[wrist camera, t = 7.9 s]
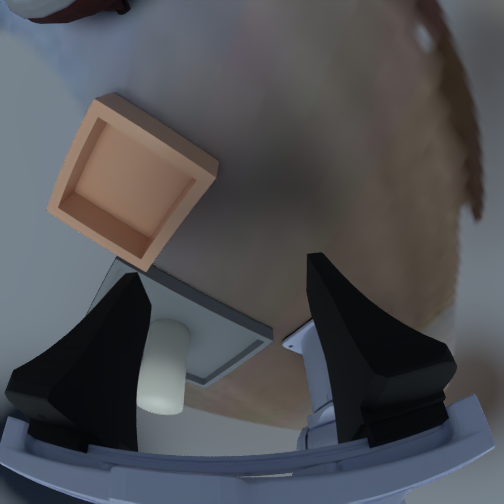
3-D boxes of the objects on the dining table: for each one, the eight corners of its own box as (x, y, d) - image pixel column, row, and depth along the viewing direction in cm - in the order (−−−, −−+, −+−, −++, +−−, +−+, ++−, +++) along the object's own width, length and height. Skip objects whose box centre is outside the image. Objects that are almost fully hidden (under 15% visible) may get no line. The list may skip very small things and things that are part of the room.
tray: (272, 329, 29) (273, 341, 27) (205, 378, 34) (205, 388, 33) (121, 247, 22) (115, 258, 21) (83, 321, 27) (78, 332, 26)
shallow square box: (219, 161, 19) (216, 177, 16) (154, 247, 22) (146, 272, 20) (113, 92, 15) (94, 98, 13) (65, 191, 19) (46, 210, 17)
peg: (197, 331, 27) (192, 406, 21) (176, 349, 29) (168, 418, 23) (161, 312, 26) (146, 389, 19) (143, 333, 27) (128, 403, 21)
